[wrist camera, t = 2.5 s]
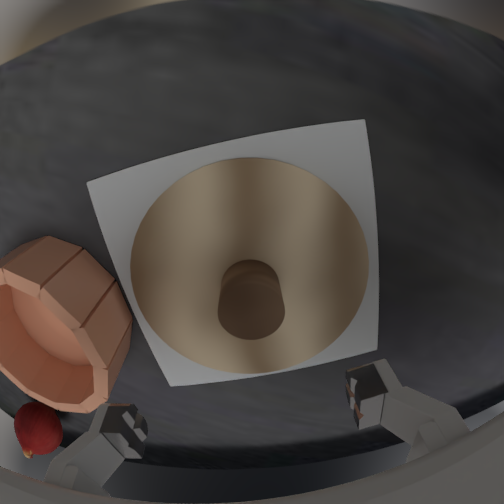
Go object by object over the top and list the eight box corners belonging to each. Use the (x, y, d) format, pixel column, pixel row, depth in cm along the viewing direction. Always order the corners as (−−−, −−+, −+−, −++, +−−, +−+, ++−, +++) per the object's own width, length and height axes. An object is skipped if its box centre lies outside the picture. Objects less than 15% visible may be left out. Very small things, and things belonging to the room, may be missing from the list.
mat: (362, 119, 16) (364, 119, 15) (375, 346, 22) (377, 349, 22) (89, 181, 17) (86, 182, 16) (171, 383, 23) (170, 386, 23)
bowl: (94, 220, 18) (49, 252, 13) (154, 362, 22) (138, 414, 17) (-8, 255, 18) (-48, 285, 13) (50, 367, 23) (26, 406, 18)
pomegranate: (42, 415, 26) (19, 461, 19) (22, 383, 24) (-7, 431, 17) (78, 425, 27) (57, 477, 19) (59, 393, 24) (31, 449, 17)
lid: (351, 137, 16) (378, 140, 12) (365, 343, 22) (382, 376, 18) (103, 193, 17) (73, 210, 13) (177, 377, 22) (169, 413, 19)
